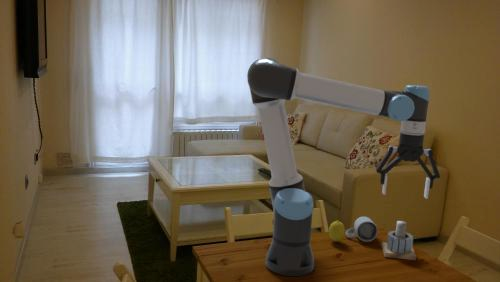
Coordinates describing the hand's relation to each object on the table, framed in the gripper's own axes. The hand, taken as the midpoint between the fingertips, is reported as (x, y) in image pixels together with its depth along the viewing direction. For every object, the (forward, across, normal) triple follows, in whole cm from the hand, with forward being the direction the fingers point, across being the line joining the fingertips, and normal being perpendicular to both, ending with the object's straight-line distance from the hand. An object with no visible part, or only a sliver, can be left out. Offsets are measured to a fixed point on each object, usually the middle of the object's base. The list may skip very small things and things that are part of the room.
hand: (404, 195), depth 155 cm
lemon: (+21, -21, +4) cm, 30 cm away
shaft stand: (+21, 0, 0) cm, 21 cm away
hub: (+19, 0, 0) cm, 19 cm away
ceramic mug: (+21, -12, +11) cm, 26 cm away
